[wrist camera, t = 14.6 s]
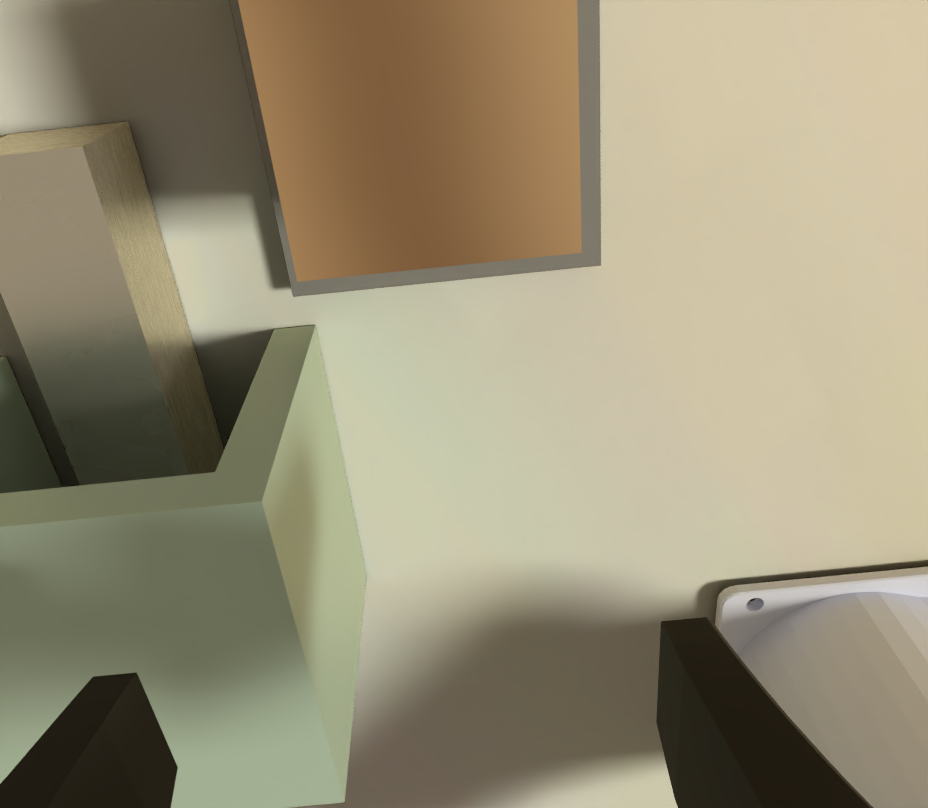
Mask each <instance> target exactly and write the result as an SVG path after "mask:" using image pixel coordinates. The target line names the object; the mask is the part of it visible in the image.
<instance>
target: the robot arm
mask: <svg viewBox="0 0 928 808" xmlns="http://www.w3.org/2000/svg"><path fill="white" fill-rule="evenodd" d="M753 598H756V599H755V600H753V601H750V602H748V601H749V600H751V599H753ZM657 726H658V730H659V734H660V739H661V743H662V747H663V751H664V756H665V760H666V764H667V768H668V772H669V776H670V781H671V785H672V789H673V793H674V797H675V800H676V803H677V806H678V808H928V567H918V568H908V569H898V570H888V571H877V572H867V573H857V574H846V575H836V576H826V577H816V578H805V579H795V580H785V581H774V582H764V583H754V584H744V585H734V586H730V587H728V588H726V589H724V590H723V591H722V592H721V593H720V594H719V596H718V599H717V608H716V619H715V624H714V623H713V622H711V621H710V620H709V619H708V618H706V617H704V618H694V619H683V620H673V621H663V622H661V636H660V658H659V680H658V702H657ZM177 769H178V767H177V764H176V762H175V760H174V757H173V755H172V753H171V750H170V748H169V746H168V743H167V741H166V739H165V737H164V734H163V732H162V730H161V727H160V725H159V723H158V720H157V718H156V716H155V713H154V711H153V709H152V706H151V704H150V702H149V700H148V697H147V695H146V693H145V690H144V688H143V686H142V683H141V681H140V679H139V676H138V674H137V672H136V673H125V674H115V675H105V676H94V677H92V678H91V680H90V681H89V682H88V683H87V684H86V685H85V686H84V687H83V689H82V690H81V691H80V692H79V693H78V694H77V695H76V697H75V698H74V699H73V700H72V701H71V702H70V703H69V705H68V706H67V707H66V708H65V709H64V710H63V712H62V713H61V714H60V715H59V716H58V717H57V719H56V720H55V721H54V722H53V723H52V724H51V725H50V727H49V728H48V729H47V730H46V731H45V733H44V734H43V735H42V736H41V737H40V738H39V740H38V741H37V742H36V743H35V744H34V745H33V747H32V748H31V749H30V750H29V751H28V752H27V753H26V755H25V756H24V757H23V758H22V759H21V760H20V762H19V763H18V764H17V765H16V766H15V767H14V769H13V770H12V771H11V772H10V773H9V774H8V776H7V777H6V778H5V779H4V780H3V781H2V782H1V783H0V808H171V803H172V798H173V792H174V786H175V781H176V775H177Z"/></svg>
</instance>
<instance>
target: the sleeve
mask: <svg viewBox="0 0 928 808" xmlns="http://www.w3.org/2000/svg"><path fill="white" fill-rule="evenodd" d="M366 580H367V575H366V570H365V565H364V560H363V555H362V550H361V545H360V541H359V536H358V531H357V526H356V521H355V516H354V511H353V506H352V501H351V496H350V492H349V487H348V482H347V477H346V472H345V467H344V462H343V457H342V452H341V447H340V442H339V438H338V433H337V428H336V423H335V418H334V413H333V408H332V403H331V398H330V393H329V389H328V384H327V379H326V374H325V369H324V364H323V359H322V354H321V349H320V344H319V340H318V335H317V330H316V325H312V326H302V327H292V328H282V329H274V331H273V333H272V336H271V338H270V341H269V343H268V345H267V348H266V350H265V353H264V355H263V358H262V360H261V362H260V365H259V367H258V370H257V372H256V375H255V377H254V379H253V382H252V384H251V387H250V389H249V391H248V394H247V396H246V399H245V401H244V404H243V406H242V408H241V411H240V413H239V416H238V418H237V421H236V423H235V425H234V428H233V430H232V433H231V435H230V438H229V440H228V442H227V445H226V447H225V450H224V452H223V454H222V457H221V459H220V462H219V464H218V467H217V469H216V471H215V472H212V473H201V474H191V475H181V476H171V477H161V478H151V479H141V480H131V481H121V482H111V483H101V484H91V485H81V486H71V487H62V486H61V483H60V481H59V479H58V476H57V474H56V471H55V469H54V467H53V464H52V462H51V460H50V457H49V455H48V453H47V450H46V448H45V446H44V443H43V441H42V439H41V436H40V434H39V432H38V429H37V427H36V425H35V422H34V420H33V418H32V415H31V413H30V411H29V408H28V406H27V404H26V401H25V399H24V397H23V394H22V392H21V390H20V387H19V385H18V383H17V380H16V378H15V376H14V373H13V371H12V369H11V366H10V364H9V362H8V359H7V357H0V783H1V782H2V781H3V780H4V779H5V778H6V777H7V776H8V774H9V773H10V772H11V771H12V770H13V769H14V767H15V766H16V765H17V764H18V763H19V762H20V760H21V759H22V758H23V757H24V756H25V755H26V753H27V752H28V751H29V750H30V749H31V748H32V747H33V745H34V744H35V743H36V742H37V741H38V740H39V738H40V737H41V736H42V735H43V734H44V733H45V731H46V730H47V729H48V728H49V727H50V725H51V724H52V723H53V722H54V721H55V720H56V719H57V717H58V716H59V715H60V714H61V713H62V712H63V710H64V709H65V708H66V707H67V706H68V705H69V703H70V702H71V701H72V700H73V699H74V698H75V697H76V695H77V694H78V693H79V692H80V691H81V690H82V689H83V687H84V686H85V685H86V684H87V683H88V682H89V681H90V680H91V678H92V677H94V676H105V675H115V674H125V673H136V672H137V674H138V676H139V679H140V681H141V683H142V686H143V688H144V690H145V693H146V695H147V697H148V700H149V702H150V704H151V706H152V709H153V711H154V713H155V716H156V718H157V720H158V723H159V725H160V727H161V730H162V732H163V734H164V737H165V739H166V741H167V743H168V746H169V748H170V750H171V753H172V755H173V757H174V760H175V762H176V764H177V767H178V769H177V775H176V781H175V786H174V792H173V798H172V803H171V808H290V807H301V806H311V805H322V804H332V803H343V802H345V793H346V783H347V773H348V763H349V752H350V742H351V732H352V722H353V712H354V702H355V692H356V681H357V671H358V661H359V651H360V641H361V631H362V621H363V611H364V600H365V590H366Z"/></svg>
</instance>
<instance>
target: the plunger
mask: <svg viewBox="0 0 928 808" xmlns="http://www.w3.org/2000/svg"><path fill="white" fill-rule="evenodd" d="M0 293H1V296H2V298H3V300H4V303H5V305H6V308H7V310H8V313H9V315H10V317H11V320H12V322H13V325H14V327H15V329H16V332H17V334H18V337H19V339H20V342H21V344H22V346H23V349H24V351H25V354H26V356H27V358H28V361H29V363H30V366H31V368H32V371H33V373H34V375H35V378H36V380H37V383H38V385H39V387H40V390H41V392H42V395H43V397H44V400H45V402H46V404H47V407H48V409H49V412H50V414H51V416H52V419H53V421H54V424H55V426H56V429H57V431H58V433H59V436H60V438H61V441H62V443H63V446H64V448H65V450H66V453H67V455H68V458H69V460H70V462H71V465H72V467H73V470H74V472H75V475H76V477H77V479H78V482H79V484H80V486H81V485H91V484H101V483H111V482H121V481H131V480H141V479H151V478H161V477H171V476H181V475H191V474H201V473H212V472H215V471H216V469H217V467H218V464H219V462H220V459H221V457H222V454H223V452H224V447H223V444H222V440H221V437H220V433H219V430H218V426H217V423H216V420H215V416H214V413H213V409H212V406H211V403H210V399H209V396H208V392H207V389H206V385H205V382H204V379H203V375H202V372H201V368H200V365H199V362H198V358H197V355H196V351H195V348H194V344H193V341H192V338H191V334H190V331H189V327H188V324H187V321H186V317H185V314H184V310H183V307H182V303H181V300H180V297H179V293H178V290H177V286H176V283H175V280H174V276H173V273H172V269H171V266H170V262H169V259H168V256H167V252H166V249H165V245H164V242H163V239H162V235H161V232H160V228H159V225H158V221H157V218H156V215H155V211H154V208H153V204H152V201H151V198H150V194H149V191H148V187H147V184H146V180H145V177H144V174H143V170H142V167H141V163H140V160H139V157H138V153H137V150H136V146H135V143H134V139H133V136H132V133H131V129H130V126H129V122H119V123H109V124H100V125H90V126H81V127H71V128H62V129H52V130H43V131H33V132H24V133H14V134H8V135H6V136H4V137H1V138H0Z"/></svg>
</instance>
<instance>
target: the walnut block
mask: <svg viewBox="0 0 928 808" xmlns="http://www.w3.org/2000/svg"><path fill="white" fill-rule="evenodd" d="M238 2H239V7H240V12H241V17H242V21H243V26H244V31H245V36H246V40H247V45H248V50H249V55H250V59H251V64H252V69H253V74H254V78H255V83H256V88H257V93H258V97H259V102H260V107H261V112H262V117H263V121H264V126H265V131H266V136H267V140H268V145H269V150H270V155H271V159H272V164H273V169H274V174H275V178H276V183H277V188H278V193H279V197H280V202H281V207H282V212H283V216H284V221H285V226H286V231H287V235H288V240H289V245H290V250H291V255H292V259H293V264H294V269H295V274H296V278H297V282H300V281H310V280H319V279H329V278H339V277H349V276H359V275H368V274H378V273H388V272H398V271H408V270H417V269H427V268H437V267H447V266H457V265H467V264H476V263H486V262H496V261H506V260H516V259H525V258H535V257H545V256H555V255H565V254H574V253H582V238H581V182H580V126H579V70H578V15H577V0H238Z"/></svg>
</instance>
